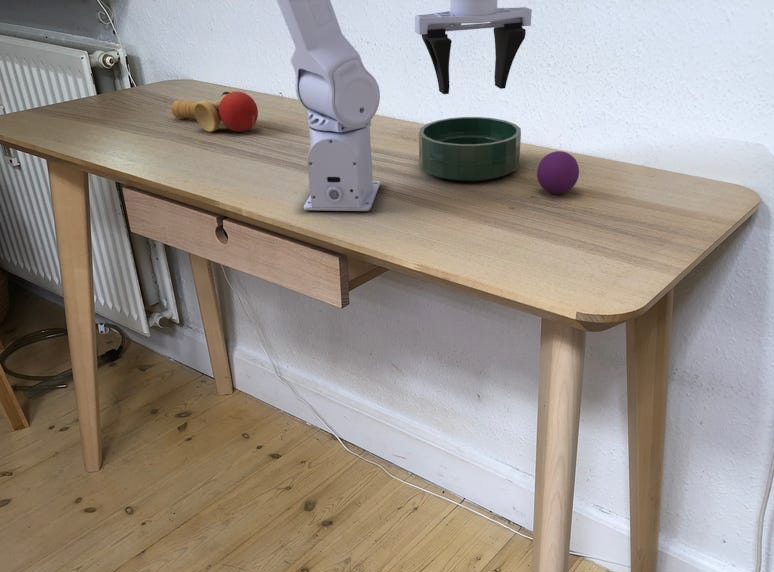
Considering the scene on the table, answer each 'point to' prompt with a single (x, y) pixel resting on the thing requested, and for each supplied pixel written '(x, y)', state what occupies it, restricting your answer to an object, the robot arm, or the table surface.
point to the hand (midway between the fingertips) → (472, 89)
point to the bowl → (469, 148)
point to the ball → (558, 172)
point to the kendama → (220, 111)
